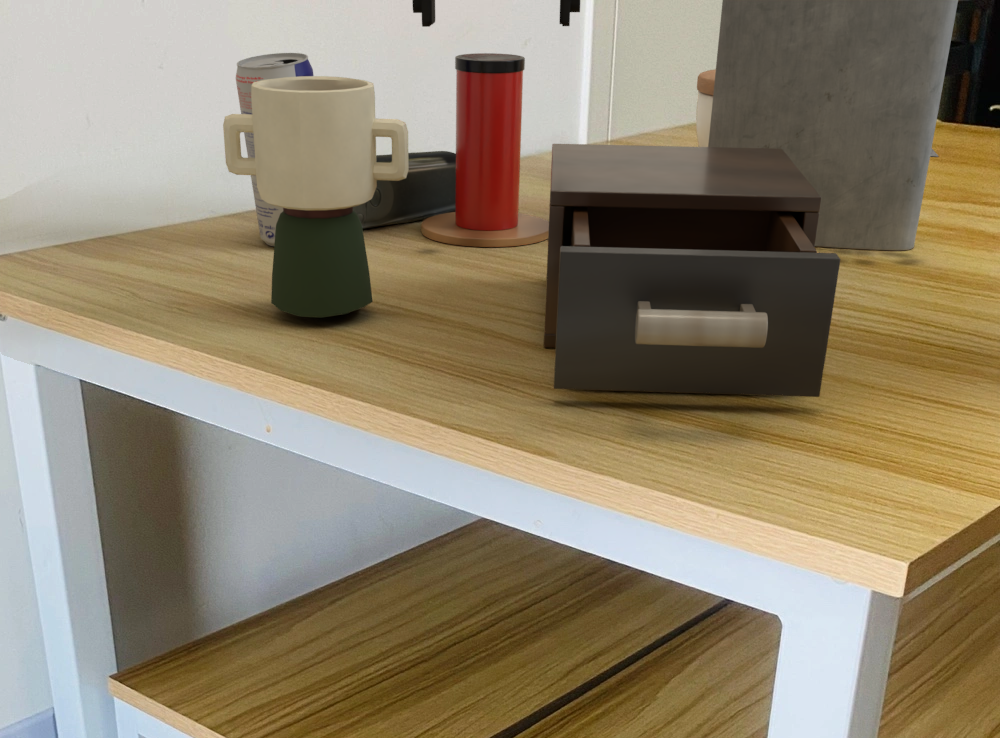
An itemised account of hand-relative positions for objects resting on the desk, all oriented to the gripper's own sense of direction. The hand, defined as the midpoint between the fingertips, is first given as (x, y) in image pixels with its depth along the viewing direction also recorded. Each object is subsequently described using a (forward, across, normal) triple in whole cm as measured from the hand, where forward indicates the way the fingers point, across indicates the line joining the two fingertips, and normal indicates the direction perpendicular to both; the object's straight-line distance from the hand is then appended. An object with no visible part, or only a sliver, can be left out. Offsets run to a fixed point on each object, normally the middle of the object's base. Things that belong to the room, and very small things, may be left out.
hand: (496, 24), depth 97 cm
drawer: (+14, +11, -35) cm, 39 cm away
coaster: (+14, -1, 0) cm, 14 cm away
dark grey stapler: (+14, -9, +2) cm, 17 cm away
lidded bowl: (+15, +22, +19) cm, 33 cm away
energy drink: (+14, -14, -4) cm, 20 cm away
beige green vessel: (+14, -10, -24) cm, 29 cm away
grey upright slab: (+15, +23, 0) cm, 28 cm away
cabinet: (+15, +11, -22) cm, 28 cm away
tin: (+14, -1, 0) cm, 14 cm away
